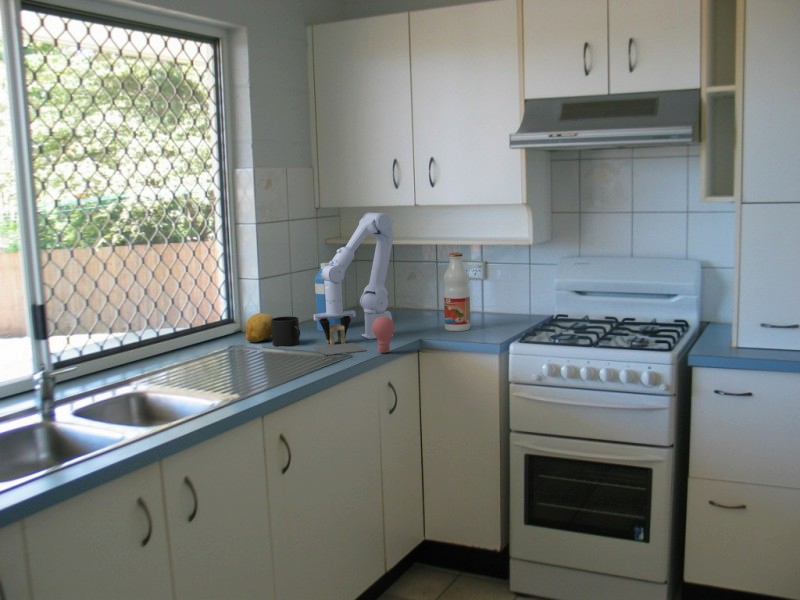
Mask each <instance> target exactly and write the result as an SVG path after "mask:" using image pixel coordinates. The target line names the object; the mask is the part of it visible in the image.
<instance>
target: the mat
mask: <svg viewBox="0 0 800 600" xmlns="http://www.w3.org/2000/svg"><path fill="white" fill-rule="evenodd" d="M313 349H314V350H316V351H318V352H319V353H320V354H322V353H323V354H322V355H324V354H325V355H330V356H333V355H332V354H338V355H344V354H343V353H347V354H354V353H362V352H363V353H364V352H367V351H368V350H367V349H366V348H364V347H362V346H360V345H359V344H356V343H354V342H349V343H346V342H345V344H341V343H339V344H335V345H330V344H329V345H319V346H313ZM325 355H324V356H325Z"/></svg>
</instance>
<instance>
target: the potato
mask: <svg viewBox="0 0 800 600" xmlns="http://www.w3.org/2000/svg"><path fill="white" fill-rule="evenodd" d="M273 318H274V317H273V316H272V315H271V314H267V313H264V312H258V313H254V314H252V315H250V317H249V318H248V319H247V321H246V324H245V339H246V340H247V341H248V342H250V343H257V342H263V341H264V340H267V339H269V338H270V337H272V327H271V319H273Z"/></svg>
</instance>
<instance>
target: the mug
mask: <svg viewBox="0 0 800 600" xmlns="http://www.w3.org/2000/svg"><path fill="white" fill-rule="evenodd" d="M271 327H272V335H271V337H272V338H271V339H272V340H271V341H272V346H274V347H278V346H288V347H293V346H294V345H295V346H297V345H299V344H301V342H300V340H301V339H300V337H301V330H300V321H299V317H297V316H290V315H289V316H288V315H287V316H286V315H285V316H278V317H273V319H271Z"/></svg>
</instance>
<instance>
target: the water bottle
mask: <svg viewBox="0 0 800 600" xmlns="http://www.w3.org/2000/svg"><path fill="white" fill-rule="evenodd" d="M327 265H329V262H322V263H320V270H318V273H317V274H316V275H315V277H314V290H315V292H314V293H315V309H316V311H315V312H316V313H315V314H320V313H326V299H325V285H324V280H323V279H322V278H321V273H322V270H323V268H324V267H325V266H327ZM334 317H336V316H334ZM327 320H328V321H329V322H330V325H336V324H341V321H340V318H333V319H327ZM316 328H317V331H319V332H324V330H323V328H322V326H321V324H320V322H319V320H317V321H316Z"/></svg>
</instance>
